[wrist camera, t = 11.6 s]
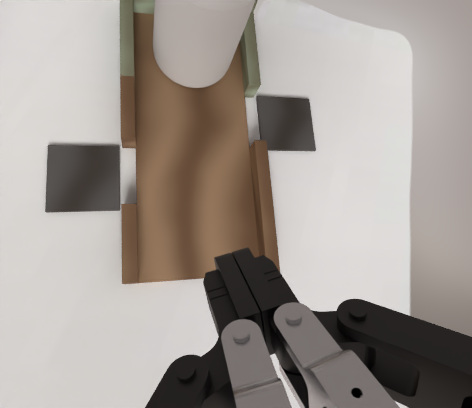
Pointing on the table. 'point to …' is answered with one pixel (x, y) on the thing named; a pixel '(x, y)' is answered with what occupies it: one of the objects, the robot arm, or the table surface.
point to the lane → (183, 161)
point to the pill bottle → (198, 38)
